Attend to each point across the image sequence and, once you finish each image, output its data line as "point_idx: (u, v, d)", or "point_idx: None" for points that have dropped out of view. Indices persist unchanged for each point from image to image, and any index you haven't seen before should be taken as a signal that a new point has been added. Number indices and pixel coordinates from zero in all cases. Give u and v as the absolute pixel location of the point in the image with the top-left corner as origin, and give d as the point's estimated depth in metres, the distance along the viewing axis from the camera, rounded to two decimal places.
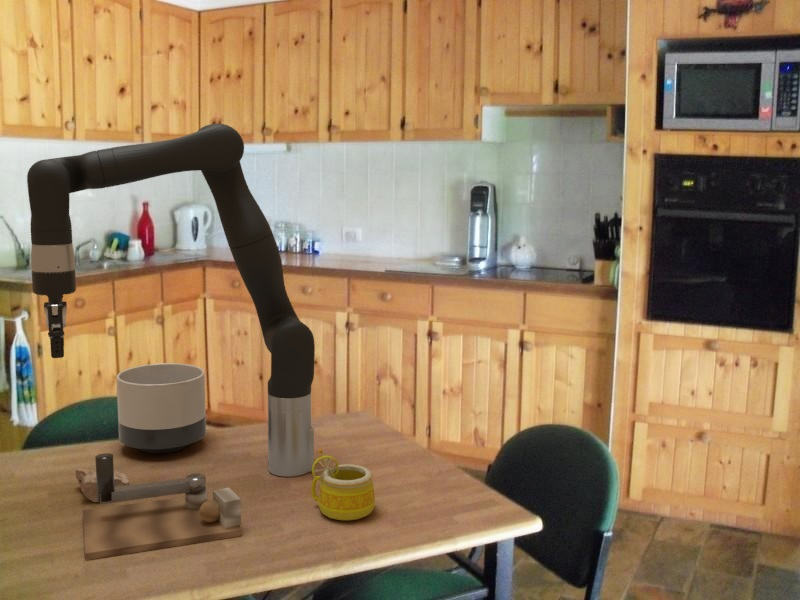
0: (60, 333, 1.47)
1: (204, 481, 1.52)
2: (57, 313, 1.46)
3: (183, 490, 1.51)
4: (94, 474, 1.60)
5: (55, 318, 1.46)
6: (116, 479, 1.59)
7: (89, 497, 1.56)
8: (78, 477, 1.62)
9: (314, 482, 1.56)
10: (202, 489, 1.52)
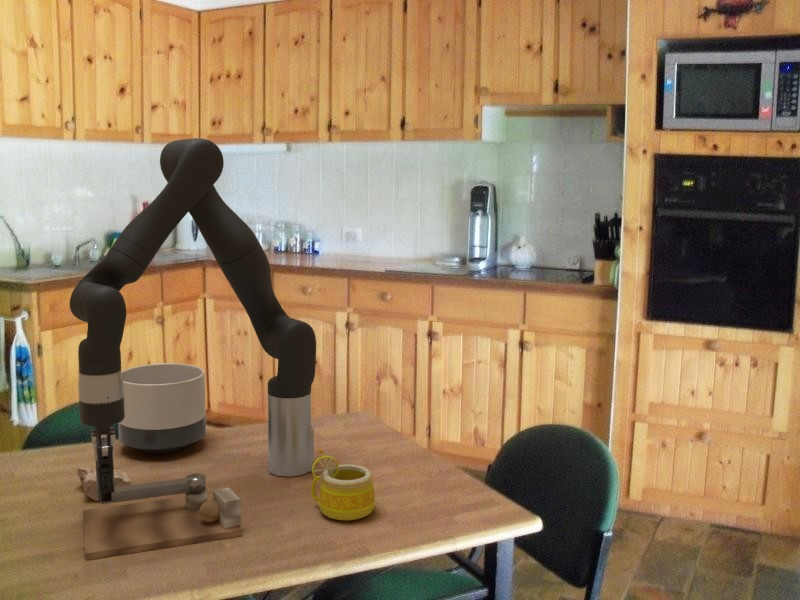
0: (110, 470, 1.42)
1: (204, 481, 1.52)
2: (107, 455, 1.40)
3: (183, 490, 1.51)
4: (95, 472, 1.61)
5: (105, 459, 1.40)
6: (117, 478, 1.60)
7: (90, 495, 1.57)
8: (80, 475, 1.62)
9: (314, 482, 1.56)
10: (202, 489, 1.52)
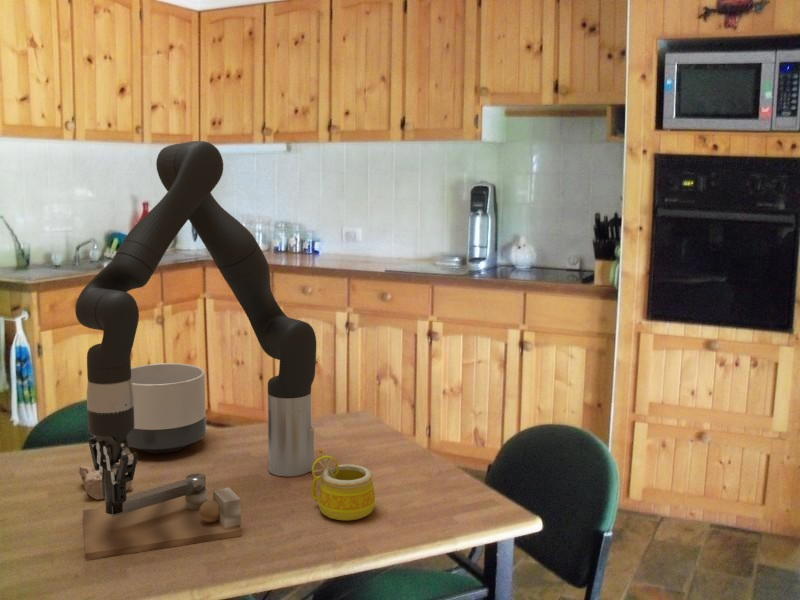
0: (130, 479, 1.38)
1: (205, 480, 1.53)
2: (132, 463, 1.36)
3: (187, 491, 1.50)
4: (97, 471, 1.61)
5: (129, 468, 1.36)
6: None
7: (91, 494, 1.57)
8: (81, 474, 1.63)
9: (314, 482, 1.56)
10: (204, 488, 1.52)
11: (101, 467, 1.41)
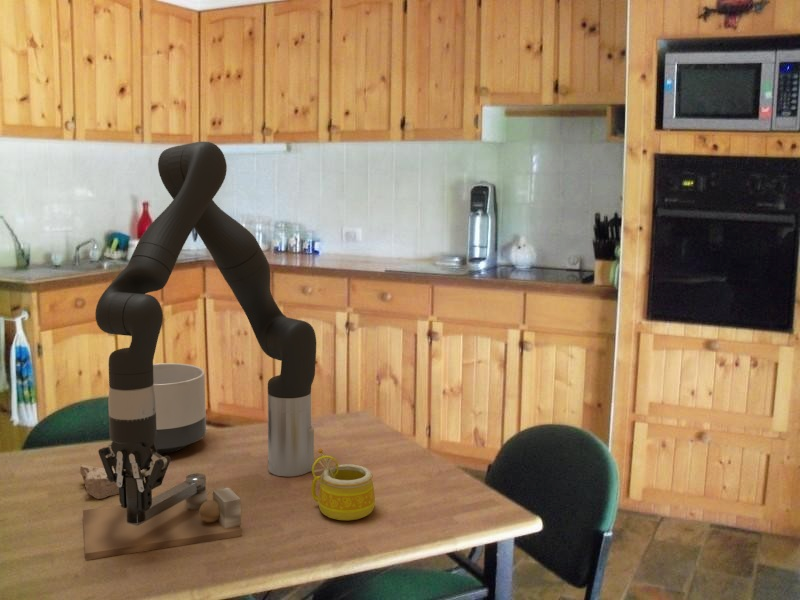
0: (159, 484, 1.36)
1: None
2: (165, 467, 1.35)
3: (192, 492, 1.50)
4: (97, 471, 1.62)
5: (161, 472, 1.35)
6: None
7: (91, 493, 1.58)
8: (82, 473, 1.64)
9: (314, 482, 1.56)
10: (205, 486, 1.53)
11: (120, 477, 1.37)
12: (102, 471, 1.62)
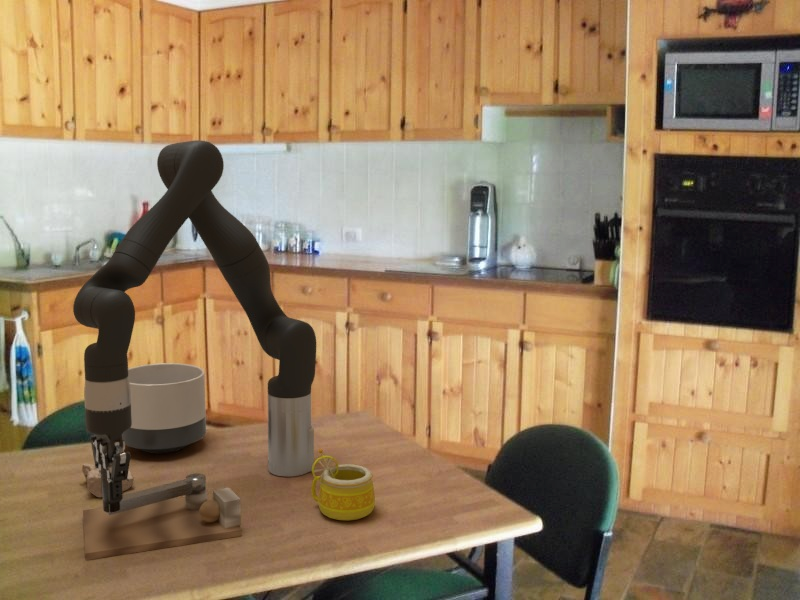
0: (124, 478, 1.38)
1: (205, 480, 1.53)
2: (124, 462, 1.36)
3: (186, 491, 1.50)
4: None
5: (122, 467, 1.37)
6: None
7: (93, 492, 1.58)
8: (84, 472, 1.64)
9: (314, 482, 1.56)
10: (204, 488, 1.52)
11: (100, 465, 1.42)
12: None
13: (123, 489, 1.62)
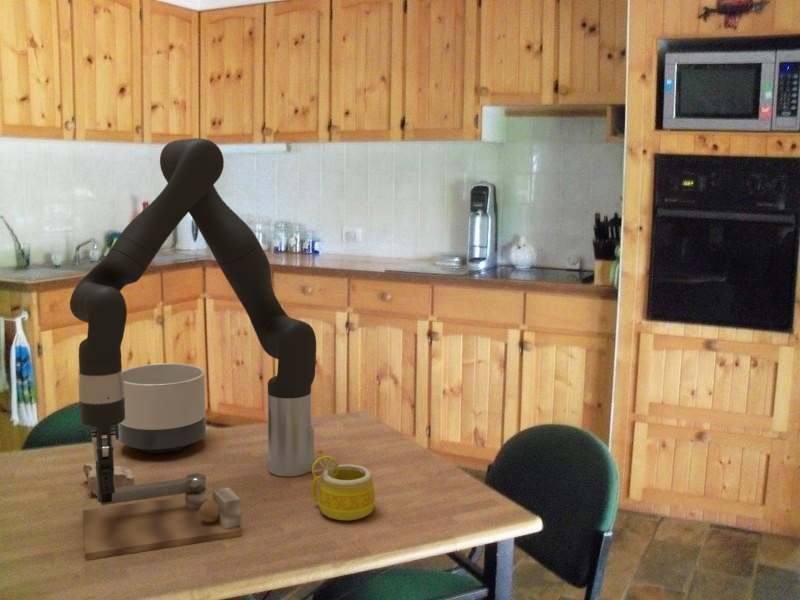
0: (110, 471, 1.41)
1: (204, 481, 1.52)
2: (108, 456, 1.39)
3: (183, 490, 1.51)
4: None
5: (105, 460, 1.40)
6: (120, 474, 1.61)
7: (93, 491, 1.59)
8: (85, 471, 1.65)
9: (314, 482, 1.56)
10: (202, 489, 1.52)
11: None
12: None
13: None
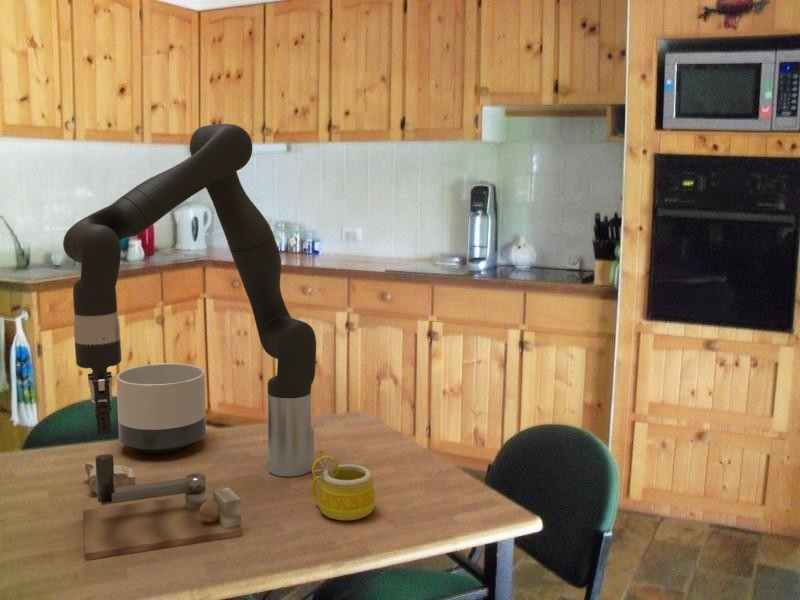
0: (107, 410, 1.37)
1: (204, 481, 1.52)
2: (104, 389, 1.37)
3: (183, 490, 1.51)
4: None
5: (102, 394, 1.37)
6: (121, 473, 1.62)
7: (94, 490, 1.59)
8: (87, 470, 1.65)
9: (314, 482, 1.56)
10: (202, 489, 1.52)
11: None
12: None
13: None
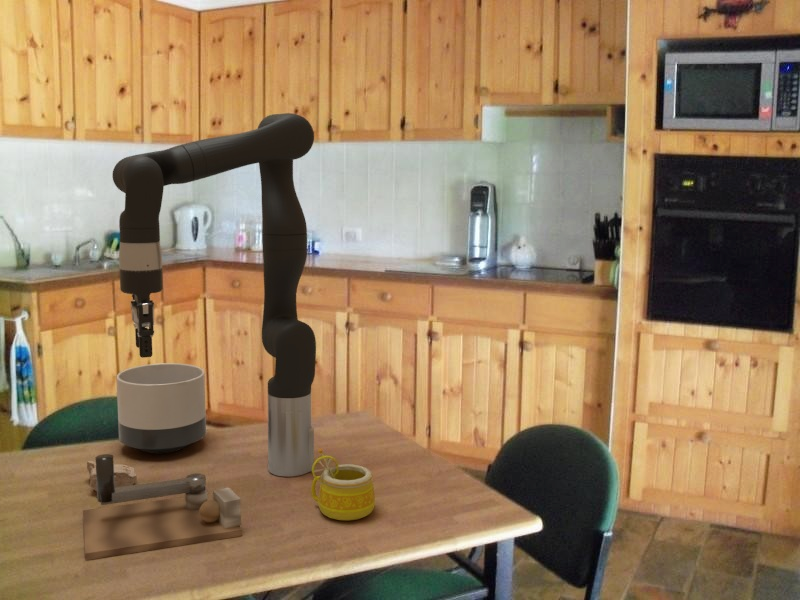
0: (150, 332, 1.45)
1: (204, 481, 1.52)
2: (148, 312, 1.44)
3: (183, 490, 1.51)
4: None
5: (146, 317, 1.44)
6: (123, 472, 1.62)
7: (95, 489, 1.60)
8: (89, 469, 1.66)
9: (314, 482, 1.56)
10: (202, 489, 1.52)
11: None
12: None
13: None
